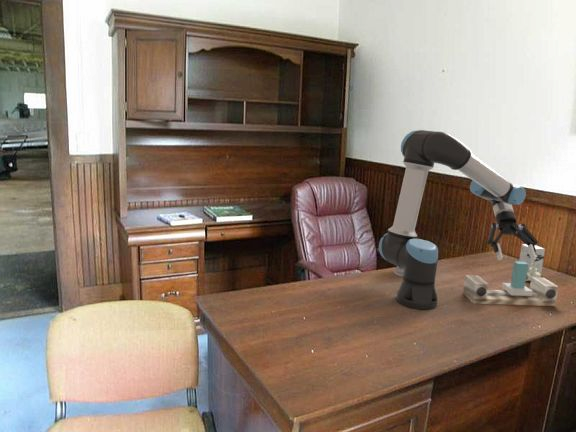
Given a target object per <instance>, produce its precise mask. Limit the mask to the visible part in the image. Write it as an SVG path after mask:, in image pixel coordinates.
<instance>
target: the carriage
mask: <svg viewBox="0 0 576 432" xmlns="http://www.w3.org/2000/svg"><path fill="white" fill-rule="evenodd" d="M527 269H528V264H527V263H526V262H519V260H518V261H517V260H515V261H513V266H512V272H511V279H510V282H502V284H501V288H502V290H504V291H505V292H508V295H509V296H532V293H533V291H532V290H531V289H530V287H527V286H526V282H527V281H526V275H527Z"/></svg>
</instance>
